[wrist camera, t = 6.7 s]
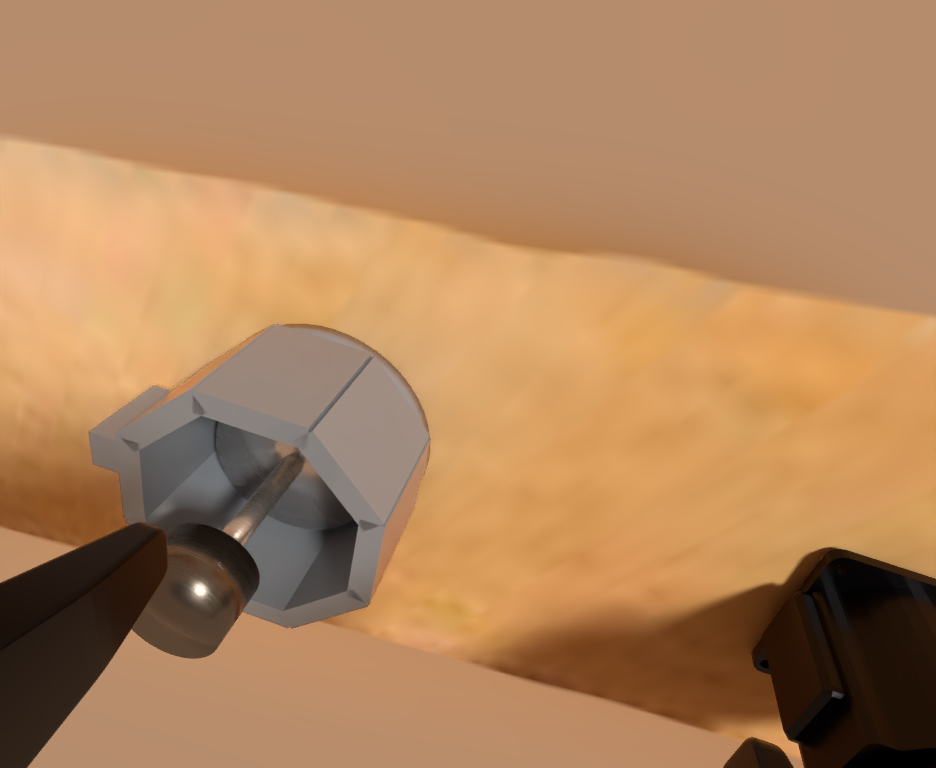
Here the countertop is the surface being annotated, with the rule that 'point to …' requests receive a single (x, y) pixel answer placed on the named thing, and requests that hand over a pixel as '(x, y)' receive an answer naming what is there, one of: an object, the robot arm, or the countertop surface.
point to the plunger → (232, 543)
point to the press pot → (294, 423)
